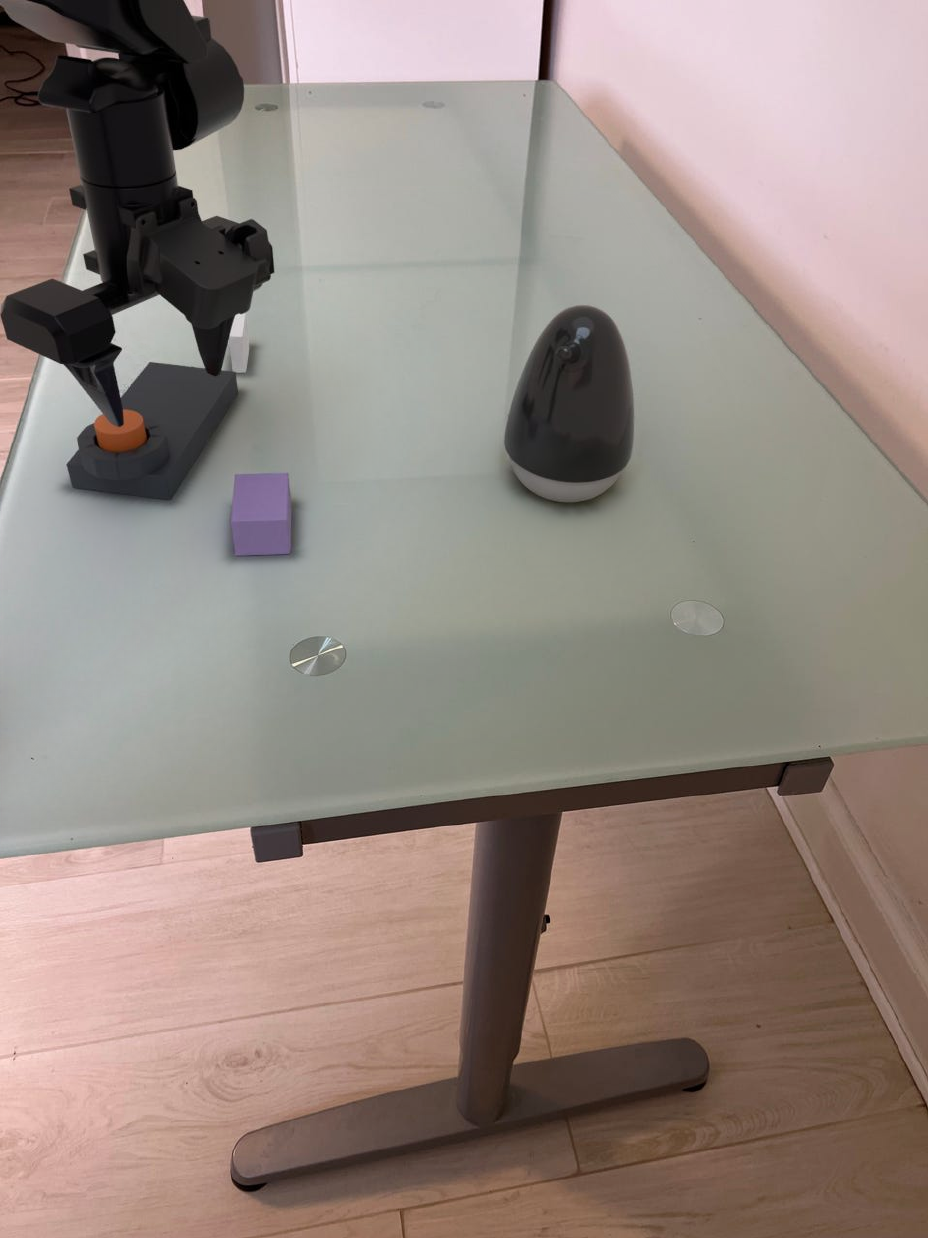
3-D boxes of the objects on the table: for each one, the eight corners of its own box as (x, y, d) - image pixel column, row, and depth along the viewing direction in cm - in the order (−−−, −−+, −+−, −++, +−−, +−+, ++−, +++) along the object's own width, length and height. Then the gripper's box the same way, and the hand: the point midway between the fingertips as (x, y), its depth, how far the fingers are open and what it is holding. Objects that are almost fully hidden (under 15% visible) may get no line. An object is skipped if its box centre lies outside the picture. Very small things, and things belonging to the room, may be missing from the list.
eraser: (232, 372, 92) (228, 336, 90) (236, 348, 96) (232, 312, 93) (246, 372, 92) (242, 336, 90) (249, 348, 96) (246, 312, 94)
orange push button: (136, 456, 75) (132, 436, 74) (90, 450, 75) (85, 430, 74) (154, 431, 78) (150, 412, 76) (110, 426, 78) (105, 406, 77)
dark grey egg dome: (481, 501, 79) (494, 322, 69) (524, 438, 86) (542, 268, 76) (604, 535, 76) (636, 354, 66) (637, 467, 84) (671, 295, 73)
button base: (164, 509, 76) (156, 465, 73) (65, 496, 77) (53, 452, 74) (238, 393, 90) (233, 352, 87) (153, 383, 90) (146, 342, 87)
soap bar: (290, 554, 73) (287, 519, 71) (235, 556, 72) (230, 521, 70) (291, 506, 77) (288, 472, 75) (239, 508, 77) (234, 473, 75)
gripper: (95, 252, 52) (145, 498, 62) (328, 165, 63) (337, 384, 74) (-38, 200, 56) (30, 438, 66) (203, 128, 68) (228, 339, 78)
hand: (167, 398), depth 71 cm, fingers open, 9 cm apart
